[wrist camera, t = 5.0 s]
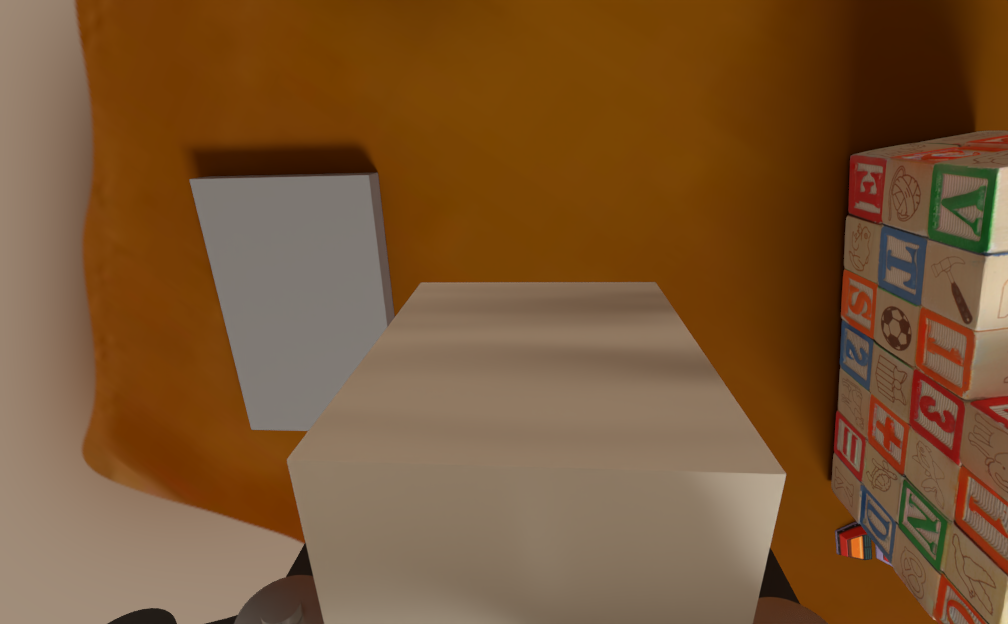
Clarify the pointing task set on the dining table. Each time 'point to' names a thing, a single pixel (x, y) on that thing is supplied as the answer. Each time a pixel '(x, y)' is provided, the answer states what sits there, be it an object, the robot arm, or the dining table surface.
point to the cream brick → (536, 467)
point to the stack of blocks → (929, 369)
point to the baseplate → (296, 284)
